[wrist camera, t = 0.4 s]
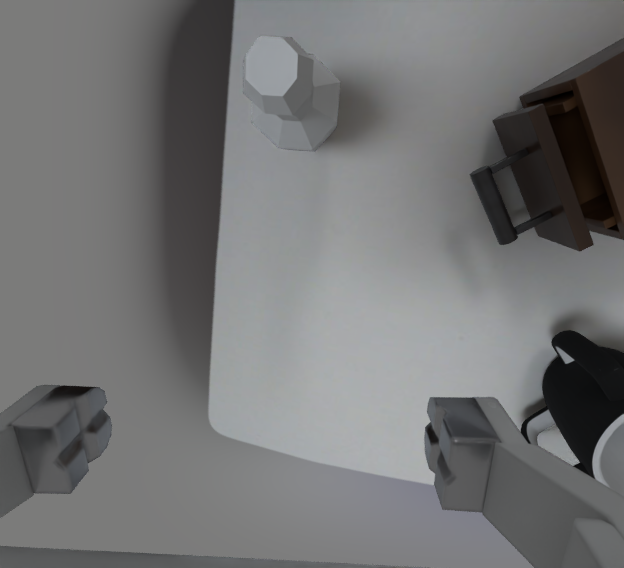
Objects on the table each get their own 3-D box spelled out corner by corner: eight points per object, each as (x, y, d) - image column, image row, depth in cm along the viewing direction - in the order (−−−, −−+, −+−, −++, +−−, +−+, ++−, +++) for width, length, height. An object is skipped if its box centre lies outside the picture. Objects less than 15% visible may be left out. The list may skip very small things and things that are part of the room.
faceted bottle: (264, 137, 37) (178, 110, 17) (287, 71, 35) (224, -55, 15) (322, 164, 38) (311, 170, 17) (349, 99, 36) (373, 18, 15)
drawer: (492, 258, 39) (523, 277, 33) (443, 147, 36) (467, 145, 30) (690, 161, 35) (770, 162, 29) (655, 29, 32) (736, -4, 26)
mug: (612, 449, 47) (703, 542, 35) (488, 420, 46) (539, 505, 35) (684, 333, 42) (817, 398, 30) (544, 299, 41) (626, 352, 30)
